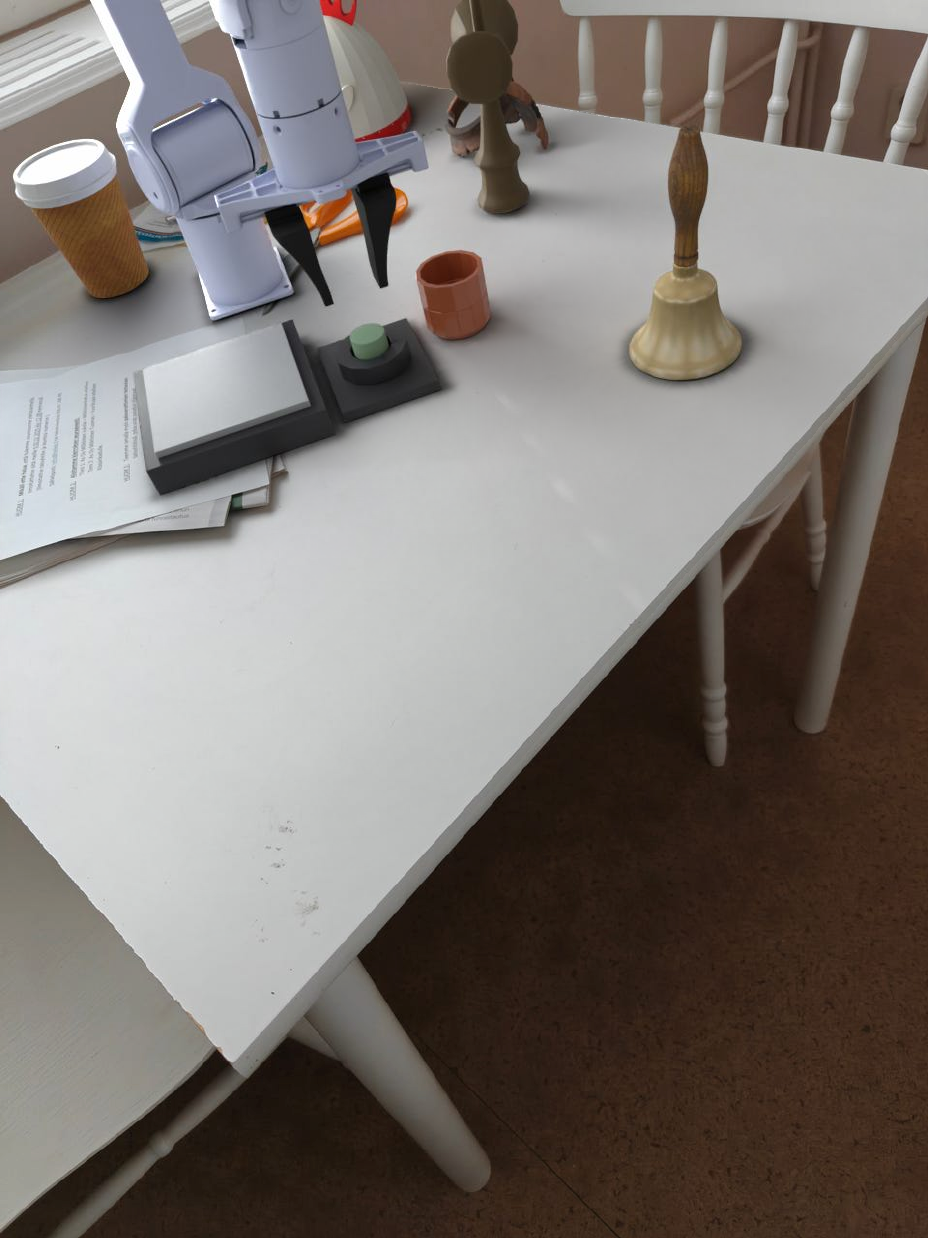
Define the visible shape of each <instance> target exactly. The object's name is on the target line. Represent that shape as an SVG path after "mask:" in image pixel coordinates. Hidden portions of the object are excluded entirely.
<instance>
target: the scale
mask: <svg viewBox="0 0 928 1238" xmlns="http://www.w3.org/2000/svg"><path fill="white" fill-rule="evenodd" d="M307 356H308V355H307V353H306V350H305V348H304V345H303V342H302V340H301V337H300V335H299V332H298V330H297V327H296V323H295V321H294V319H293V318H291V319H288V320H285V321H283V322H282V321H281V322H277V323H274V324H272V325H269V326H265V327H262V328H259V329H257V330H253V331H250V332H247V333H244V334H241V335H239V336H236V337H233V338H229V339H227V340H224V341H221V342H217V343H215V344H212V345H209V346H206V347H202V348H199V349H197V350H193V351H191V352H188V353H185V354H182V355H179V356H175V357H173V358H170V359H167V360H164V361H161V362H158V363H155V364H152V365H149V366H146V367H142V369H139V370H136V371H133V374H132V375H133V380H134V387H135V388H134V389H135V396H136V404H137V405H136V406H137V413H138V419H139V428H140V434H141V442H142V450H143V457H144V465H145V472H146V474H147V476H148V477H149V479H150V481H151V483H152V484H153V486H154V488H155V489H156V491H157V493H158V495H160V496H161V495H164V494H167V493H170V492H173V491H176V490H178V489H181V488H183V487H187V486H189V485H192V484H195V483H199V482H201V481H204V480H207V479H210V478H212V477H216V476H219V475H222V474H224V473H227V472H231V471H233V470H235V469H238V468H239V469H240V468H242V467H245V466H247V465H250V464H253V463H257V462H259V461H262V460H265V459H268V458H271V457H274V456H277V455H279V454H282V453H285V452H286V453H287V452H289V451H291V450H294V449H297V448H300V447H303V446H306V445H309V444H311V443H314V442H317V441H320V440H323V439H325V438H329V437H331V436H334V435H336V432H335V429H334V427H333V424H332V420H331V418H330V415H329V412H328V410H327V407H326V405H325V401H324V399H323V396H322V394H321V391H320V388H319V386H318V383H317V379H316V377H315V375H314V371H313V370H312V367H311V365H310V364H311V363H310V362H309V359H308V357H307Z"/></svg>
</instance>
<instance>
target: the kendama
mask: <svg viewBox="0 0 928 1238" xmlns="http://www.w3.org/2000/svg"><path fill="white" fill-rule="evenodd" d="M510 3H511V2H509V0H461V1H460V2H459V3H458V4H457V5H456V6H455V8H454V12H453V13H452V17H451V20H450V38H451V41H452V44H451V45H450V46H449V49H448V53H447V55H446V58H445V62H446V63H445V69H446V77H447V80H448V83H449V86H450V89H451V90H452V91H453V92H454V93H455V96H456V95H457V96H458V97H459V99H461V100H463V101H466V102H468V103H469V105H479V108H480V111H479V112H480V115H481V138H480V148H479V150H478V151H476V154H475V156H474V163H475V166H476V167H477V168H478V169H479V171H480V173H481V189H480V192H479V194H478V196H477V203H478V204H477V205H478V208H479V209H481V210H482V211H484V212H486V213H490V214H504V213H509V212H512V211H515V210H517V209H519V208H521V207H523V206H524V205H525V204H526V203H527V201H528V200H529V197H530V189H529V187H528V185H527V184H526V183H525V182H524V181H523V179H522V177H521V175H520V170H519V159H520V157H521V149H520V146H519V145H518V144H516V143H515V142H514V141H513V139H512V137H511V135H510V133H509V129H508V127H507V124H506V123H505V120H504V117H503V113H502V109H501V106H500V102H499V97H501V96H502V95H503V94H504V93H505V92H506V91H507V90H508V87H509V85H510V82H511V80H512V77H513V69H514V68H513V67H514V66H513V65H514V64H513V63H514V62H513V60H512V56H513V54H514V52H515V49H516V46H517V44H518V41H519V23H518V18H517V15H516V11H515V9H514V7H513V6H512V5H511V4H510Z"/></svg>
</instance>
